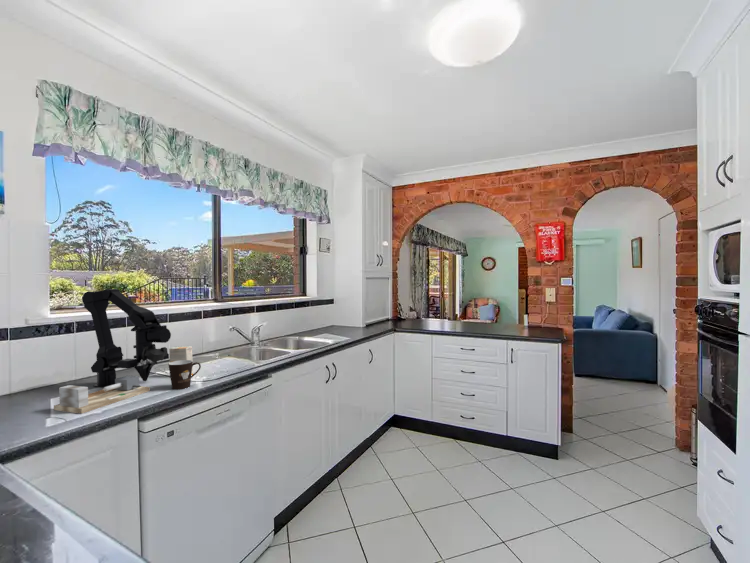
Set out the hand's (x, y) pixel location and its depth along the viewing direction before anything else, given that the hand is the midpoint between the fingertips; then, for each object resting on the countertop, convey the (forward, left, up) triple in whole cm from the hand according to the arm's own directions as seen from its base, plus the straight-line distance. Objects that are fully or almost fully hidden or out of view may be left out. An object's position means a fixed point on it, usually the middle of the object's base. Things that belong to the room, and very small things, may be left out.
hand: (145, 380), depth 149 cm
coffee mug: (+16, +4, -3) cm, 17 cm away
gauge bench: (0, -16, -2) cm, 16 cm away
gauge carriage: (+2, -11, -1) cm, 11 cm away
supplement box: (+1, +17, -3) cm, 18 cm away
